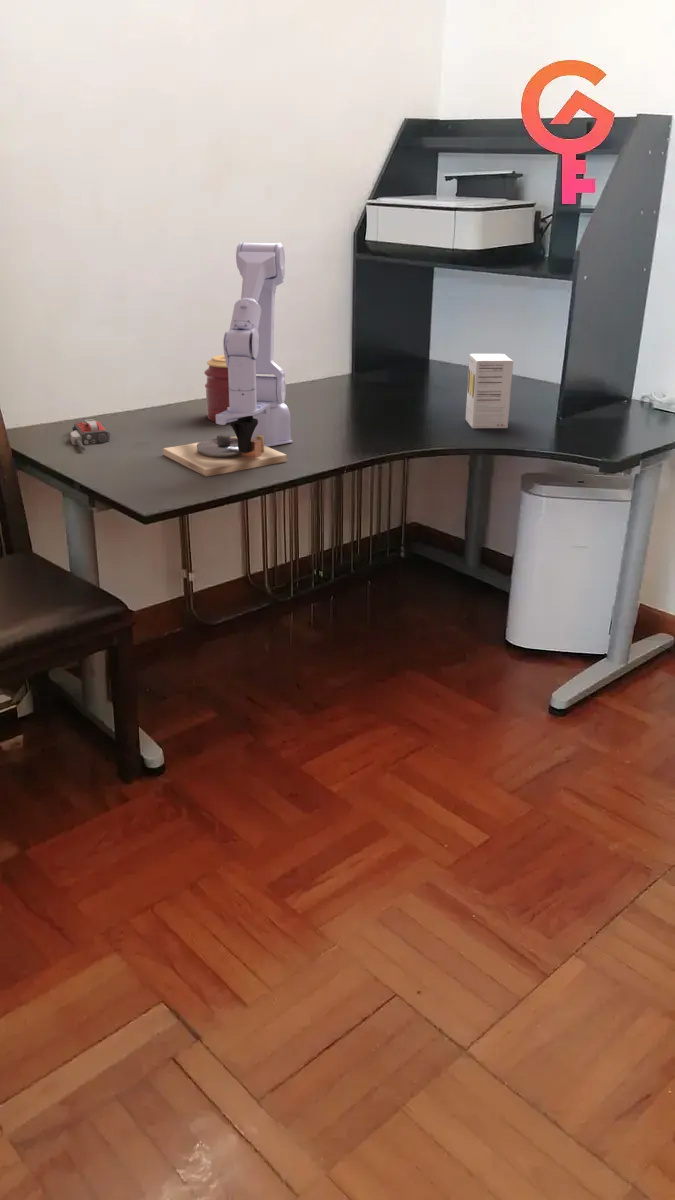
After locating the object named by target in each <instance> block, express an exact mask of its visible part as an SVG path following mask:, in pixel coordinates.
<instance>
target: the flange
mask: <svg viewBox="0 0 675 1200" xmlns="http://www.w3.org/2000/svg"><path fill="white" fill-rule="evenodd" d="M197 443H198V444H197V452H198V453H200V454H202V455H206V456H213V457H230V456H238V455H244V456H248V457H253V458H257V457H260V456H261V440H258V439H253V438H251V448H250V452H249V453H243V452H239V449H238V439H237V438H231V444H230V445H218V444H217V437H216V438H211V439H206V440H202V441H200V443H199V442H197Z"/></svg>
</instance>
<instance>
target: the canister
mask: <svg viewBox="0 0 675 1200" xmlns="http://www.w3.org/2000/svg"><path fill="white" fill-rule="evenodd" d="M206 364H207V365H208V368H206V369H205V370H204V372H203V373H204V375H205V376H206V383H205V384H204V387H205V396H206V397H205V399H206V408H205V409H206V416H207V419H208V420H210V421H211V422H215V423H216V414H220V413H222V412H224V411H226V410H227V407H230V405H229V378H228V367H227V366H226V359H225V354H224V353H223V354H221V355H220V354H219V355H215V356H213V357H211V359H210V360H208V361H207V362H206Z"/></svg>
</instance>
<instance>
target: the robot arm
mask: <svg viewBox="0 0 675 1200" xmlns="http://www.w3.org/2000/svg"><path fill="white" fill-rule="evenodd" d="M284 248H285V247H284V246H283V244H282V243H281V242H277V243H275V242H274V243H273V242H271V243H270V242H244V241H241V242H239V243H238V244H237V246H236V249H235V261H236V267H237V270H238V271H239V274H240V276H241V278H242V283H241V285H242V286H241V296H240V299H238V300H237V301H236V302H235V303H234V305H233V306H234V307H233V311H232V315H231V321H230V327H229V330H228V331H225V332H224V335H223V341H222V343H223V344H222V346H223V355H224V354H225V359H226V366H227V367H228V378H229V405H230V407H227V410H226V411H224V412H222V413H220V414H216V422H215V424H217V425H220V426H224V425H226V424H229V425H230V426H231V428H232V430H233V431H234V433H235V436H237V439H238V449H239V452H243V453H249V452H250V448H251V438H253V439H256V436H258V435H262V436H264V445H265V446H267V447H269V448H270V447H274V446H279V445H286V444H291V443H293V439H292V438H291V437H292V436H291V435H292V434H291V431H292V430H291V412H290V410H289V406H287V404H286V403H285V399H286V394H287V386H286V385H287V384H286V373H285V370H284V369H283V368H282V367H281V366H280V365H278V364H277V363H276V362H274V344H275V343H274V340H275V339H274V338H275V337H274V336H275V307H276V306H275V303H276V302H275V301H276V300H275V299H276V292H277V291H276V290H277V286H279V285H281V284H283V283H284V278H285V272H286V271H285V264H286V257H285V256H286V255H285V249H284ZM261 375H263V376H261ZM265 375H266V376H265ZM267 375H268V376H267ZM270 375H273V376H270Z"/></svg>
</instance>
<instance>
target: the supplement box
mask: <svg viewBox="0 0 675 1200" xmlns="http://www.w3.org/2000/svg"><path fill="white" fill-rule="evenodd" d="M468 362H469V363H468V375H467V388H466V389H467V392H466V406H465V421H466V422H467V423H468V425H469V426H470V427H471V429H508V427H509V417H510V416H509V414H510V406H511V405H510V404H511V391H512V389H511V388H512V381H513V369H514V360H513V359H511V358H510V357H509V356H508V355H506V354H505V353H469V358H468Z"/></svg>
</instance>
